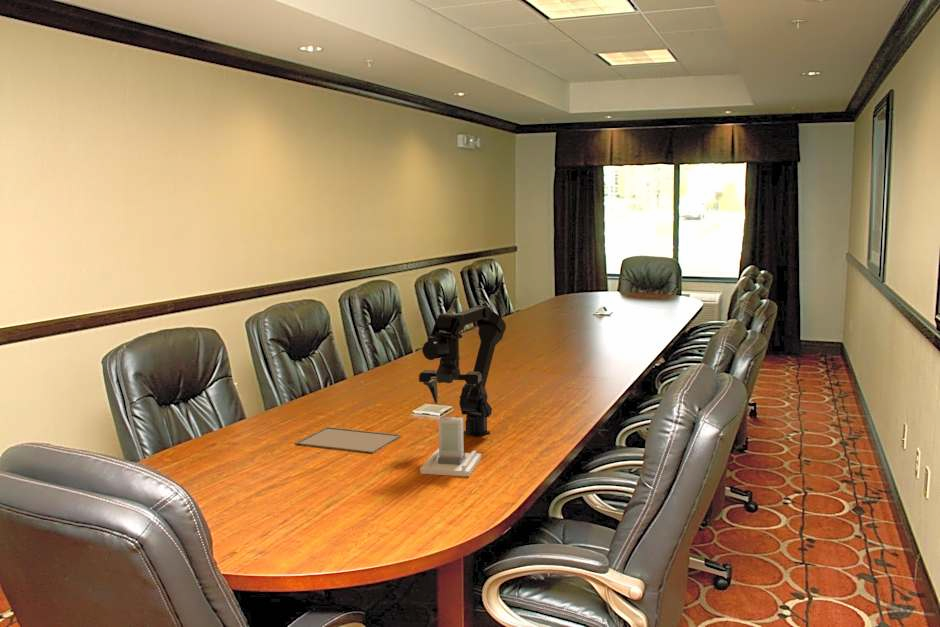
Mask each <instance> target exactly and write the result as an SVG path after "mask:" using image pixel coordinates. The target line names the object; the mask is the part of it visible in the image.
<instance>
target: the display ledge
mask: <svg viewBox="0 0 940 627" xmlns="http://www.w3.org/2000/svg"><path fill="white" fill-rule="evenodd" d="M464 453H465V459H464V460H463V462H462V463H461V464H460V465H454V464H438V458H439V448H437V450H435V451H434V452H433V453H432V454H431V456H429V457H428V459H427V460H426V461H425V462H424V464H423V465H422V466H420V468H419V469H420V470H419V471H420V473H419V474H423V475H435V476H436V475H438V476H439V475H440V476H453V477H454V476H456V477H467V476H469V477H470V476H471V475H470V474H473V472H474V470H475V469H476V467H477V466H478V464H479V463H480V462H481V460H482V453H477V450H475V449H474V450H472V451H471V452H464ZM476 465H477V466H476ZM474 468H475V469H474ZM472 471H473V472H472Z"/></svg>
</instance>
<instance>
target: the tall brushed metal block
mask: <svg viewBox="0 0 940 627" xmlns="http://www.w3.org/2000/svg"><path fill="white" fill-rule="evenodd" d="M437 421H438V449H439V458H438V464H454V465H460V464H461V463H462V462H463V460H464V459H465V453H466V452H465V450H464V448H465V447H464V433H463V431H464V417H455V416H440V417H439V418H438V420H437Z"/></svg>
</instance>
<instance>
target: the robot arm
mask: <svg viewBox="0 0 940 627" xmlns="http://www.w3.org/2000/svg"><path fill="white" fill-rule="evenodd" d="M473 323H474V324H475V325H476V326H477V327H478V332H477V333H478V336H479V339H480V344H479V346H478V347H479V348H478V351H477V356H476V359H475V364H474V367H473V370H472V371H471V370H469V371H468V372H466V373H464V374H463V373H461V369H460V358H461V357H460V339H463V335H462V334H461V331H463V330H464V329H465V327H466V326H467V325H470V324H473ZM506 328H507V324H506V322H505V321H504V319H503V318H502V316H500V315H499V314H497V313H496V312H494V311H493V310H492V309H491V307H490V306H487V305H475V306H473V307H471V308H468V309H465V310H462V311H459V312H457V313H455V312H454V313H453V312H452V313H450V312H449V313H448V312H447V313H446V312H445V313H440V314H439V315H438V316H437V318H436V320H435V322H434V324H433V328H432V330H431V333H430V336H428V337H427V341H426V342H424V343H423V346H422V347H421V348H422V349H421V350H422V354H423V356H424V358H425V359H427V360H429V361H433V360H436V359H437V360H438V359H439V365H438V368H437V370H435V369H424V370H422V371H421V372H419V374H418V382H419V383H422V384H423V385H425V386H426V387H428V389H429V391H430V393H431V397H432V398H433V402H434V404H436V405H437V404H438V399H439V398H438V384H441V383H443V384H444V383H446V384H452V383H453V382H454V380H455V381H465V384H464V385H463V387H462V389H461V394H460V397H459V408H460V410H461V415H465V417H466V418H465V419H466V420H465V430H463V434H467V435H469V436H472V437H480V436H484V435H488V434H491V430H488V418H489V417H490V416H491V415H492V413H493V411H492V410H493V408H492V406H491V405H490V403H488V393H487V389H486V384H487V380H488V376H489V373H490V368H491V365H492V360H493V355H494V353H495V349H496V346H497V344H498V343H499V342H500V341H502V339H503V337H504V334H505V332H506Z"/></svg>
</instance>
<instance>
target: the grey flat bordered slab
mask: <svg viewBox="0 0 940 627" xmlns="http://www.w3.org/2000/svg"><path fill="white" fill-rule="evenodd" d="M400 436H402V434H398V433H396V434H395V433H387V432H377V431H368V430H359V429H349V428H341V427H332V426H331V427H330V426H326V427H325V428H321V429H320V430H318V431H316V432H314V433H312V434H310V435H308V436H306V437H304V438H301V439H300V440H298V441H296V442H294V445H295V444H301V445H300V446H302V445H308V446H307V447H311V446H316V447H315V448H319V447H325V448H324V449H328V448H332V449H331V450H336V449H342V450H341V451H345V450H352V451H351V452H354V451H361V452H360V453H362V452H368V453H367V454H371V453H374V452H375V453H377V452H378V451H377V450H379V449H380V450H382V449H383V448H382V447H384V446H385V445H387V444H389V443H390V444H392V443H393V442H392V441H394V440H395V441H396V439H397V438H398V439H400V438H401V437H400ZM399 437H400V438H399ZM402 437H403V436H402ZM398 439H397V440H398ZM395 441H394V442H395ZM391 442H392V443H391ZM390 444H389V445H390ZM387 446H388V445H387ZM385 447H386V446H385ZM385 447H384V448H385ZM381 448H382V449H381ZM380 450H379V451H380ZM376 451H377V452H376ZM375 453H374V454H375Z"/></svg>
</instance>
